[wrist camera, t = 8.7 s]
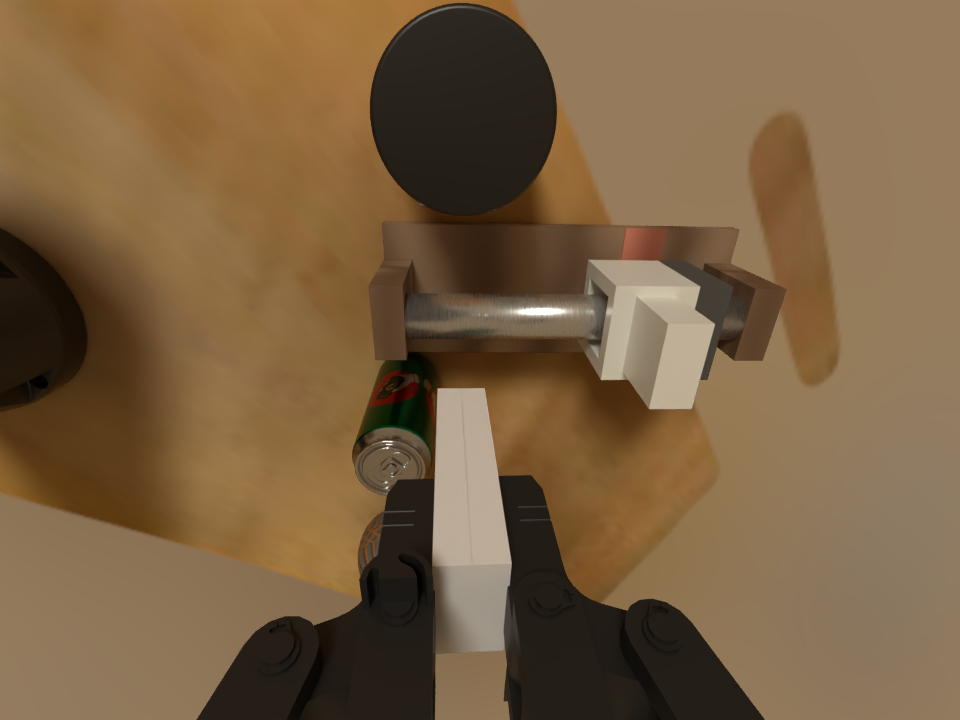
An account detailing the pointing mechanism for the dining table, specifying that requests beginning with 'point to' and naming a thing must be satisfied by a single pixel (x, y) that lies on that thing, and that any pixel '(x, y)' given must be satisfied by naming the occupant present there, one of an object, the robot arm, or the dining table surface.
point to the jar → (463, 109)
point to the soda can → (398, 425)
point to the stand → (546, 275)
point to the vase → (370, 542)
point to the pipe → (523, 316)
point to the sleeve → (649, 331)
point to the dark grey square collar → (707, 302)
